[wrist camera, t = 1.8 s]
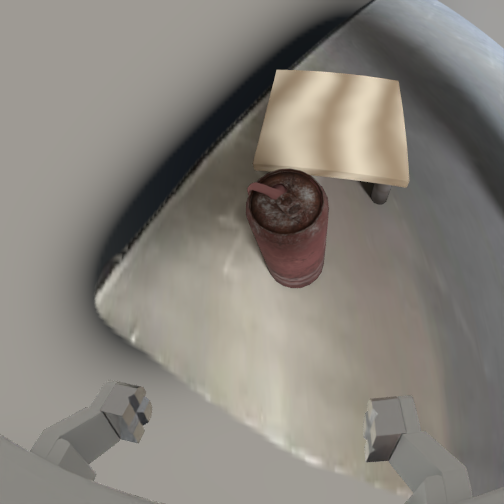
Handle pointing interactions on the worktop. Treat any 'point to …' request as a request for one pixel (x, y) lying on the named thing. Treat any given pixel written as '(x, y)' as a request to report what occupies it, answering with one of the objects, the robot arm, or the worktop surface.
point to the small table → (336, 129)
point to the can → (289, 225)
